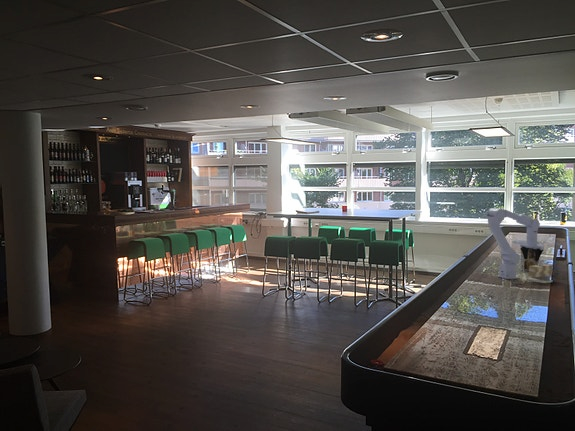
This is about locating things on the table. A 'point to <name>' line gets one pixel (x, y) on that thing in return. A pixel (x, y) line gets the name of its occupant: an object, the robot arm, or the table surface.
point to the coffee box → (528, 260)
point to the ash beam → (540, 270)
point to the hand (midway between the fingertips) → (531, 260)
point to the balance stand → (541, 279)
